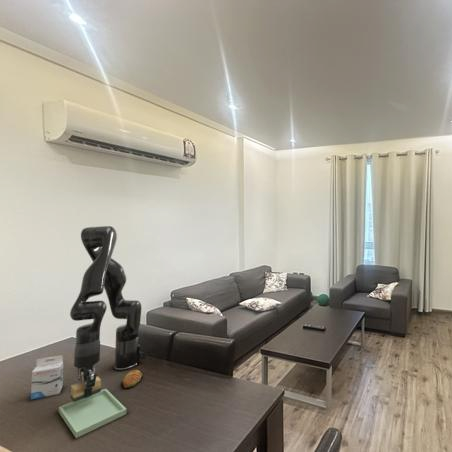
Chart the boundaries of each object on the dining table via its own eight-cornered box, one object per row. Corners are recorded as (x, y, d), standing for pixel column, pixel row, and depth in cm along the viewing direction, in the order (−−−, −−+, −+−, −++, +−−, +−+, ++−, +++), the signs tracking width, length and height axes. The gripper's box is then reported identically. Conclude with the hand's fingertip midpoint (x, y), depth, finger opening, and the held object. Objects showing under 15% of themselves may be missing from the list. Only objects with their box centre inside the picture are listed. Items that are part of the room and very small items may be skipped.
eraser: (97, 388, 111) (97, 376, 111) (100, 391, 109) (100, 379, 109) (70, 398, 104) (71, 385, 104) (73, 402, 102) (74, 389, 102)
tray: (105, 393, 115) (105, 388, 115) (126, 413, 103) (126, 408, 103) (58, 412, 103) (58, 407, 103) (75, 438, 91) (76, 432, 91)
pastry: (137, 386, 120) (138, 378, 120) (119, 390, 117) (119, 381, 117) (142, 375, 128) (142, 367, 128) (125, 378, 125) (125, 370, 125)
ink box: (30, 400, 108) (31, 364, 108) (34, 393, 113) (35, 359, 112) (59, 393, 113) (60, 359, 113) (63, 387, 117) (63, 354, 117)
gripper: (105, 353, 106) (104, 396, 106) (93, 343, 113) (92, 383, 114) (80, 360, 99) (78, 406, 99) (69, 349, 107) (67, 392, 107)
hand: (86, 394), depth 106 cm, fingers closed on eraser, 4 cm apart
